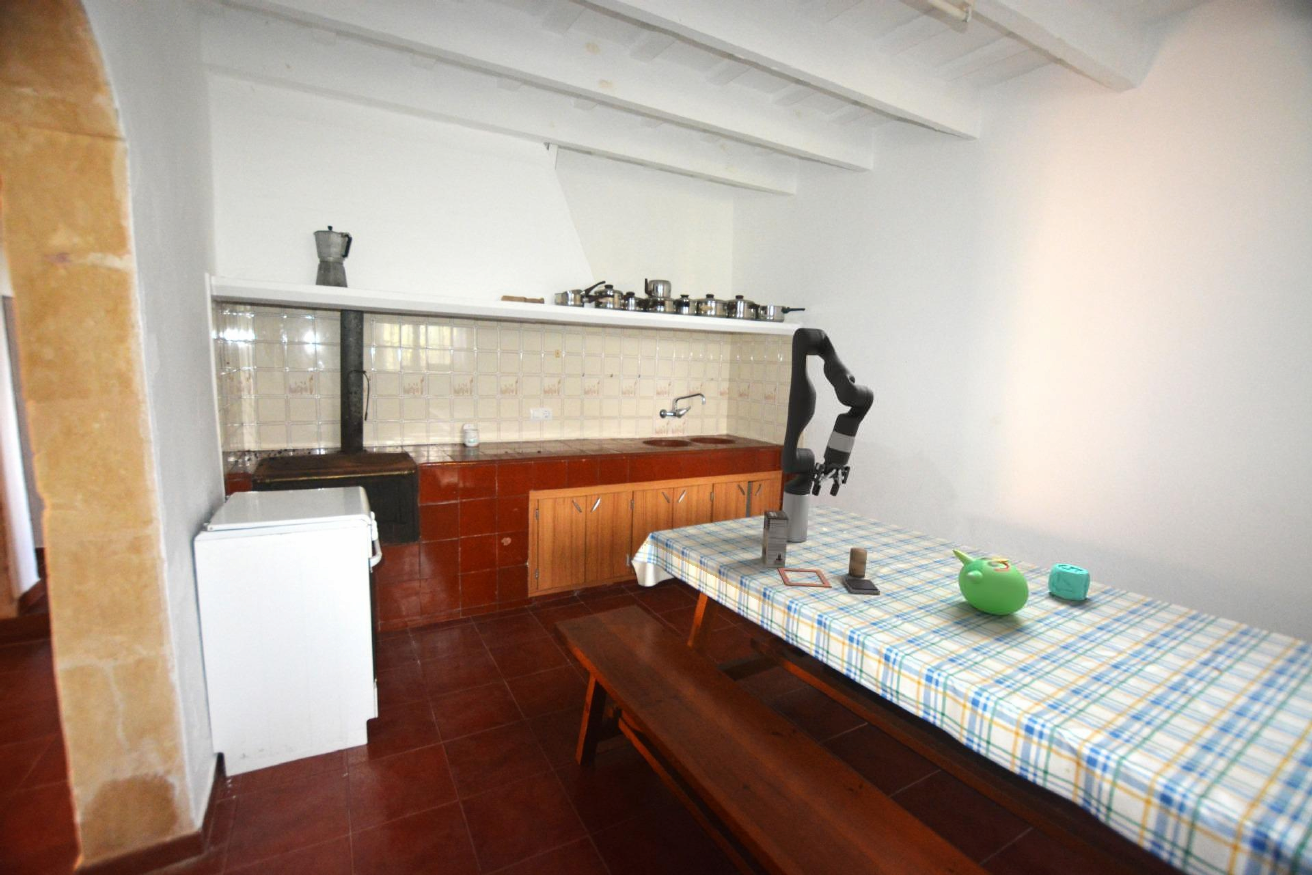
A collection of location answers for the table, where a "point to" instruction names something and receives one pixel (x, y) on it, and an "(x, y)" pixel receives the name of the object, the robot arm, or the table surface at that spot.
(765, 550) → the coffee box
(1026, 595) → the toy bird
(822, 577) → the marked square
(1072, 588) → the decorative dice
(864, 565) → the stamp
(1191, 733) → the table surface
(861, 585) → the ink pad
